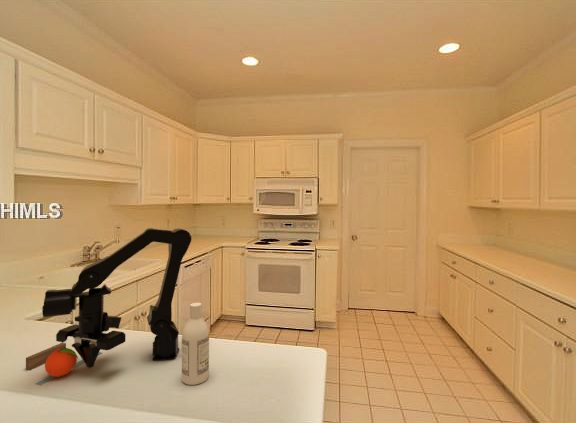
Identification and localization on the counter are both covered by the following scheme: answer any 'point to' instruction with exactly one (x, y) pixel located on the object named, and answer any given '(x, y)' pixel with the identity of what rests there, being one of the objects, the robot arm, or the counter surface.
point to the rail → (41, 357)
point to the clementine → (61, 362)
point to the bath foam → (195, 348)
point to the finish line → (55, 377)
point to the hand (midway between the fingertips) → (90, 367)
